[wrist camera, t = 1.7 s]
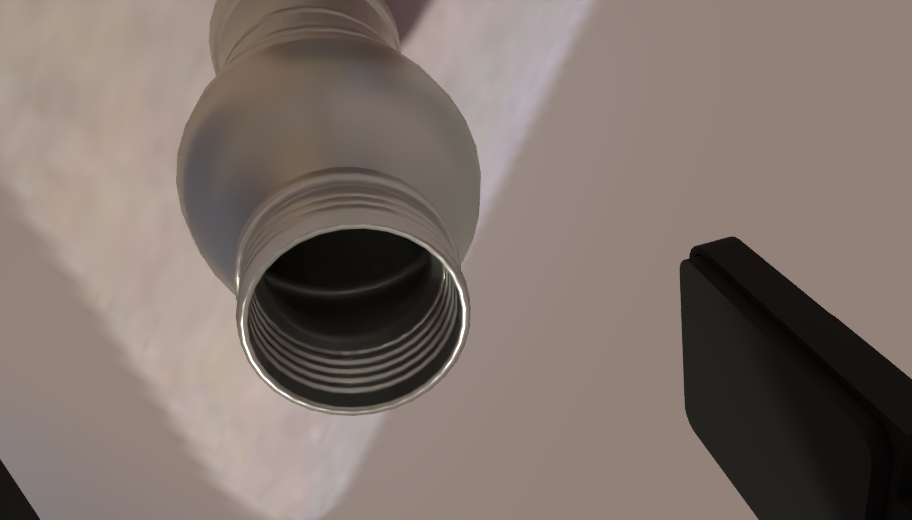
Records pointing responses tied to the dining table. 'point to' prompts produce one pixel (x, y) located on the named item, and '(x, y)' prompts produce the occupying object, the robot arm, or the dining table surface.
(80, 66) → the dining table surface
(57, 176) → the dining table surface
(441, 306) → the plastic bottle
